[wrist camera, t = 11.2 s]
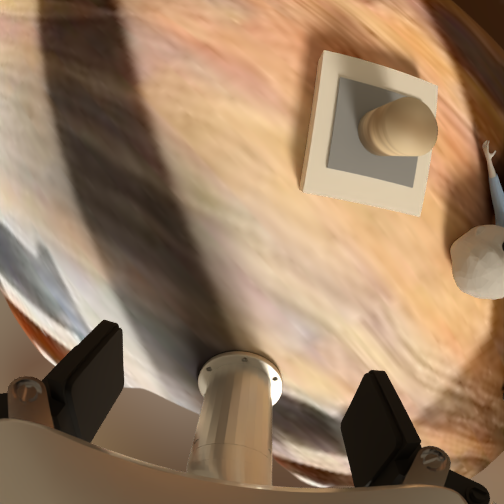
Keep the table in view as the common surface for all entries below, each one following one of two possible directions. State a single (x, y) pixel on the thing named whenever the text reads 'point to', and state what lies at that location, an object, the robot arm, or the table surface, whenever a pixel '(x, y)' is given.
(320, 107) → the plinth
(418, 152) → the cylinder
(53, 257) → the table surface
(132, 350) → the table surface
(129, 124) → the table surface
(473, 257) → the toy
